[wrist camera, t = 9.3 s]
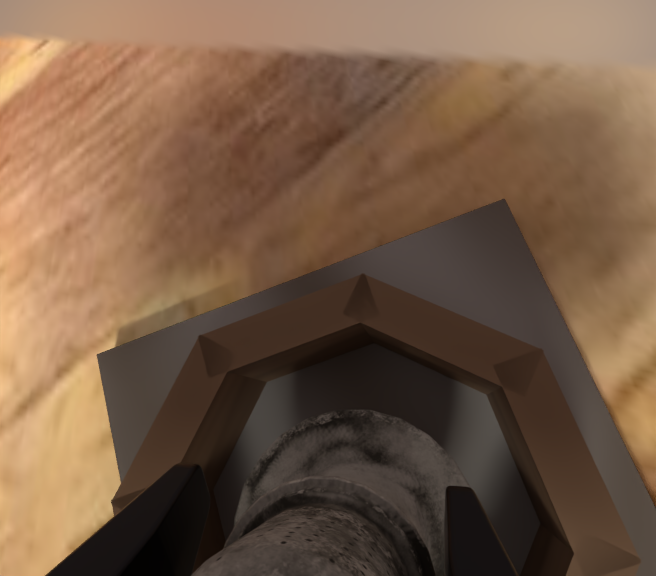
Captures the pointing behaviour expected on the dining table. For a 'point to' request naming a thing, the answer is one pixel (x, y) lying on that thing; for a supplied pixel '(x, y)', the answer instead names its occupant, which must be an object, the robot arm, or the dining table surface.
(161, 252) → the dining table surface
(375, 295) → the socket
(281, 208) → the dining table surface
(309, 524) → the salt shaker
